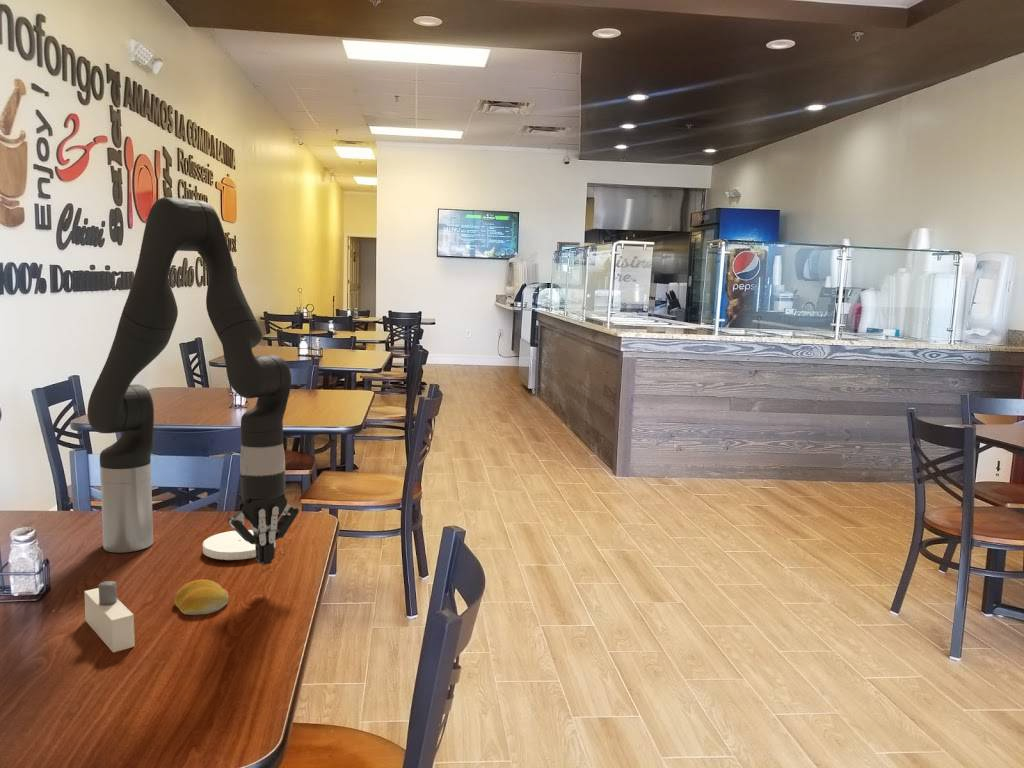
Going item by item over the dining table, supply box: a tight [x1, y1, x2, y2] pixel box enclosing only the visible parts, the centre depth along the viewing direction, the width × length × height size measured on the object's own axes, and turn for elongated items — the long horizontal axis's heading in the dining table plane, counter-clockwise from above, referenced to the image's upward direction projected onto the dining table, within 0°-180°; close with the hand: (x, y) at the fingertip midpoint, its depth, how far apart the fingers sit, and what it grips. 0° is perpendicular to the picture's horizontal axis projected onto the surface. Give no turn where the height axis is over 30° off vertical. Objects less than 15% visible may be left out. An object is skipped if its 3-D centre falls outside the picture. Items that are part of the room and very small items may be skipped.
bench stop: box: [83, 580, 136, 653], centre depth 118 cm, size 14×3×8 cm, turn 44°
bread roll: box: [173, 578, 230, 616], centre depth 129 cm, size 8×9×4 cm
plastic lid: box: [202, 529, 277, 561], centre depth 155 cm, size 14×14×2 cm
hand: (264, 563), depth 136 cm, fingers closed
